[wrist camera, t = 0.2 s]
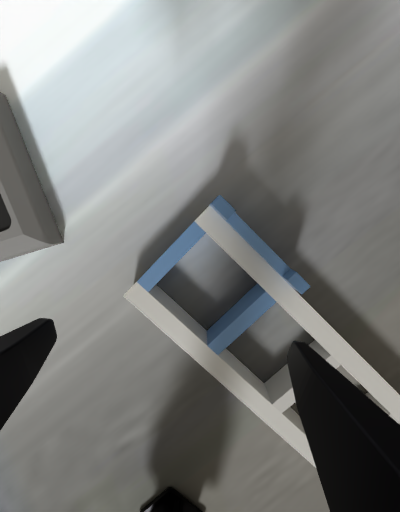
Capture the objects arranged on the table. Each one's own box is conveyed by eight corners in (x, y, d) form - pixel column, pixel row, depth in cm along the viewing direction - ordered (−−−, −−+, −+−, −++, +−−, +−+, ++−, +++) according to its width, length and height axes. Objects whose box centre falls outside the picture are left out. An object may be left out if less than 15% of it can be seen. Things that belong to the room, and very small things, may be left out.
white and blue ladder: (407, 534, 29) (451, 602, 24) (133, 286, 24) (113, 304, 19) (492, 478, 27) (559, 538, 22) (215, 199, 22) (219, 193, 17)
